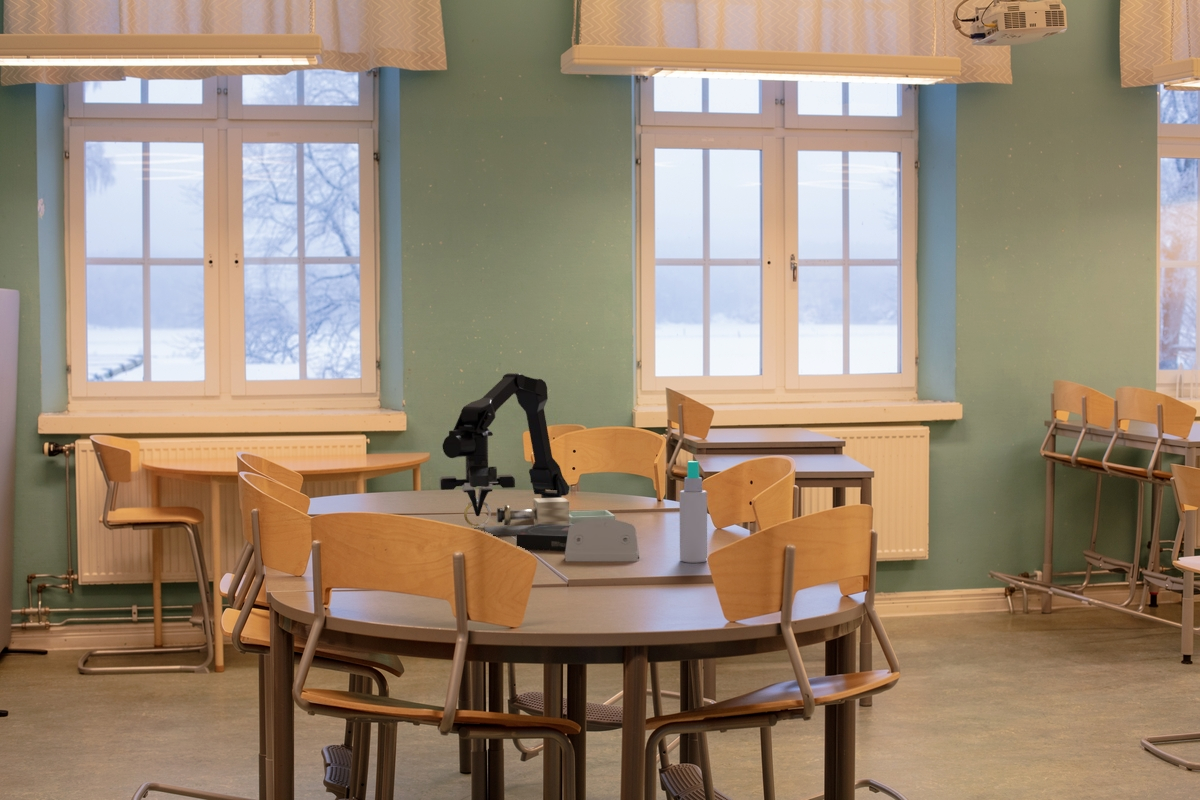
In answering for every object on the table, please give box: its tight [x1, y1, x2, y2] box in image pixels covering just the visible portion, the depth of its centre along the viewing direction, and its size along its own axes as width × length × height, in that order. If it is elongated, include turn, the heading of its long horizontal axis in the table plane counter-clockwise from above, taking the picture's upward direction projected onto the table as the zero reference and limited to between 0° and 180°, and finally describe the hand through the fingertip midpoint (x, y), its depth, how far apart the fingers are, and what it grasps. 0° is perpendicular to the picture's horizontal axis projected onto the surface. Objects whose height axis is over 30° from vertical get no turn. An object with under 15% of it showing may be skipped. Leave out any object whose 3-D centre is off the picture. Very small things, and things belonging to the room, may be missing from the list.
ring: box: [463, 496, 492, 529], centre depth 310 cm, size 7×3×8 cm, turn 92°
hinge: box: [564, 519, 640, 562], centre depth 265 cm, size 17×5×10 cm, turn 88°
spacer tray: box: [569, 509, 616, 524], centre depth 317 cm, size 11×12×2 cm
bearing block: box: [483, 497, 575, 537], centre depth 303 cm, size 26×9×8 cm, turn 101°
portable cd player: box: [516, 524, 571, 552], centre depth 283 cm, size 16×17×4 cm
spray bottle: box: [679, 460, 708, 564], centre depth 260 cm, size 6×6×22 cm
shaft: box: [496, 504, 537, 526], centre depth 302 cm, size 12×5×5 cm, turn 101°
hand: (477, 516), depth 300 cm, fingers closed
